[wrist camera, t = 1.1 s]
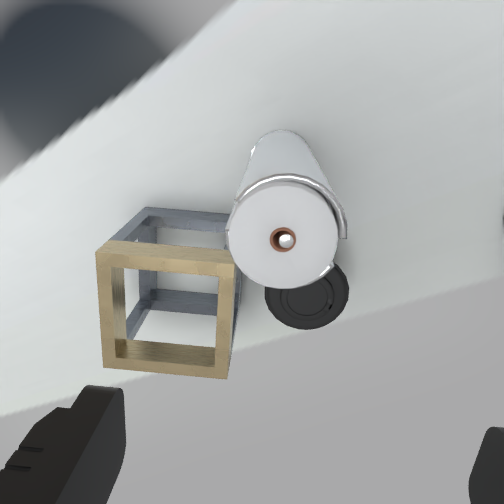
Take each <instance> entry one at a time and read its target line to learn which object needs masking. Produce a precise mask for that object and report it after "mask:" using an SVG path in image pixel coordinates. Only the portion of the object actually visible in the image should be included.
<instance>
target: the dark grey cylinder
mask: <svg viewBox="0 0 504 504" xmlns="http://www.w3.org/2000/svg"><path fill="white" fill-rule="evenodd" d="M348 295H349V286H348V282H347V279H346V276H345V274H344V273H343V272H342V270H341V269H340V267H339V266H338V265H336V264H335V263H334V267H333V268H332V269H331V270H330V271H329V272H328V273H327V274H326V275H325V276H324V277H322V278H321V279H319V280H317V281H315V282H313V283H312V284H310V285H306V286H302V287H299V288H292V289H278V288H272V287H266V286H265V300H266V303H267V306H268V309H269V310H270V311H271V313H272V314H273V315H274V316H275V318H276V319H278V320H279V321H281V322H282V323H284V324H285V325H287V326H290V327H293V328H297V329H304V330H308V329H316V328H320V327H323V326H325V325H327V324H329V323H330V322H332V321H333V320H335V319H336V318H337V317H338V316H339V315H340V313H341V312H342V311H343V310H344V308H345V305H346V303H347V301H348Z"/></svg>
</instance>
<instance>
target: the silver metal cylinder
mask: <svg viewBox="0 0 504 504" xmlns="http://www.w3.org/2000/svg"><path fill="white" fill-rule="evenodd" d="M225 234H226V244H227V247H228V249H229V252H230V255H231V257H232V259H233V260H234V262H235V263H236V265H237V266H238V267H239V269H240V270H241V271H242V272H243V273H244V274H245V275H246V276H248V277H249V278H250V279H251V280H252V281H254V282H256V283H259V284H261V285H263V286H266V287H272V288H278V289H292V288H299V287H302V286H306V285H310V284H312V283H313V282H315V281H317V280H319V279H321V278H322V277H324V276H325V275H326V274H327V273H328V272H329V271H330V270H331V269H332V268H333V267H334V263H333V260H332V259H333V258H334V256H335V252H336V248H337V245H338V236H339V238H342V239H347V220H346V217H345V213H344V209H343V207H342V205H341V204H340V202H339V200H338V198H337V196H336V195H335V193H334V191H333V189H332V187H331V186H330V184H329V182H328V180H327V179H326V177H325V175H324V173H323V171H322V170H321V168H320V166H319V164H318V163H317V161H316V159H315V157H314V155H313V154H312V152H311V150H310V148H309V147H308V145H307V143H306V142H305V141H304V140H303V139H302V138H301V137H300V136H299V135H297V134H295V133H293V132H291V131H286V130H277V131H273V132H270V133H268V134H266V135H265V136H263V137H262V138H261V139H260V140H259V141H258V142H257V143H256V145H255V147H254V149H253V151H252V155H251V158H250V161H249V163H248V166H247V169H246V171H245V174H244V177H243V179H242V182H241V185H240V187H239V190H238V192H237V195H236V198H235V203H234V206H233V209H232V211H231V214H230V217H229V219H228V222H227V225H226V228H225Z"/></svg>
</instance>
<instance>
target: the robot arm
mask: <svg viewBox="0 0 504 504" xmlns="http://www.w3.org/2000/svg"><path fill="white" fill-rule="evenodd" d="M125 447H126V430H125V411H124V394H123V390H122V389H121V388H113V387H103V386H93V385H87V386H85V387H84V388H83V390H82V391H81V393H80V394H79V396H78V397H77V399H76V400H75V402H74V403H73V405H72V406H71V408H60V407H57V408H56V409H54V410H53V411H52V412H50V413H49V414H48V415H46V416H45V417H44V418H42V419H41V420H40V421H38V422H37V423H36V424H35V425H34V426H33V427H32V429H31V430H30V431H29V433H28V434H27V435H26V437H25V438H24V440H23V441H22V442H21V444H20V445H19V448H18V450H16V451H15V452H14V453H13V455H12V456H11V458H10V459H9V460H8V461H7V463H6V464H5V468H4V469H2V470H1V471H0V504H106V503H107V501H108V498H109V496H110V493H111V491H112V489H113V486H114V484H115V482H116V479H117V477H118V474H119V472H120V469H121V466H122V463H123V459H124V454H125ZM469 497H470V501H471V504H504V428H501V427H490V428H489V429H488V430H487V431H486V433H485V436H484V439H483V441H482V444H481V447H480V450H479V453H478V455H477V458H476V461H475V464H474V466H473V469H472V472H471V475H470V478H469Z"/></svg>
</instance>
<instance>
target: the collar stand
mask: <svg viewBox="0 0 504 504" xmlns="http://www.w3.org/2000/svg"><path fill="white" fill-rule="evenodd" d="M229 217H230V214H221V213H210V212H198V211H187V210H175V209H164V208H152V207H145V208H144V209H143V210H142V211H140V212H139V213H138V214H137V215H136V216H135V217H134V218H133V219H131V220H130V221H129V222H128V223H127V224H126V225H125V226H124V227H123V228H121V229H120V230H119V231H118V232H117V233H116V234H115V235H114V236H113V237H111V238H110V239H109V240H108V241H107V242H106V243H105V244H104V245H103V246H101V247H100V248H99V249H98V250H97V251H96V252H95V255H96V270H97V284H98V299H99V313H100V328H101V342H102V357H103V368H113V369H124V370H134V371H144V372H155V373H165V374H175V375H186V376H196V377H207V378H218V379H227V376H228V371H229V365H230V359H231V354H232V348H233V342H234V336H235V330H236V324H237V318H238V312H239V307H240V294H241V281H242V271H241V270H240V269H239V267H238V266H237V265H236V263H235V262H234V260H233V259H232V257H231V255H230V252H229V249H228V247H227V244H226V245H225V248H224V250H219V249H208V248H197V247H186V246H175V245H163V244H156V227H165V228H176V229H188V230H199V231H210V232H222V233H225V228H226V225H227V222H228V219H229ZM137 238H138V242H134V241H135V240H136V239H137ZM124 268H129V269H139V294H140V300H139V301H138V303H137V304H136V306H135V307H134V309H133V310H132V312H131V314H130V315H129V317H128V318H127V320H126V311H125V288H124ZM157 271H162V272H173V273H184V274H195V275H206V276H217V277H219V287H218V294H208V293H197V292H186V291H175V290H164V289H157ZM150 310H160V311H171V312H181V313H192V314H203V315H214V316H217V327H216V347H215V348H213V347H203V346H192V345H182V344H171V343H160V342H150V341H139V340H133V339H134V337H135V335H136V333H137V332H138V330H139V328H140V326H141V325H142V323H143V321H144V319H145V318H146V316H147V314H148V312H149V311H150Z"/></svg>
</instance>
